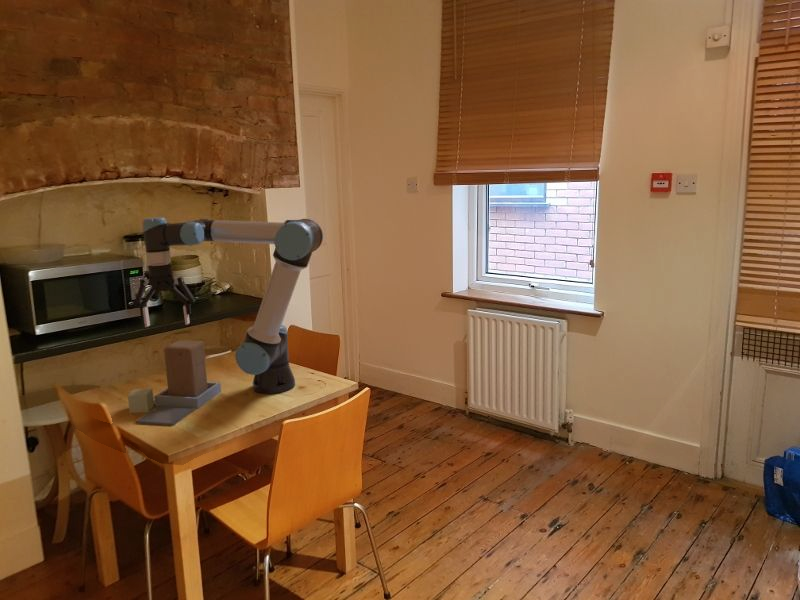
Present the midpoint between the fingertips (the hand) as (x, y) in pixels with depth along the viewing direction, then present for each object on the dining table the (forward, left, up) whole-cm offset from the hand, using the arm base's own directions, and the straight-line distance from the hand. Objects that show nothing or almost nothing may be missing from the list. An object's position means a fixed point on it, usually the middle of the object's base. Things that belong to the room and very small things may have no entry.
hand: (167, 325), depth 212 cm
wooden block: (-6, +1, -27) cm, 27 cm away
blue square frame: (-6, +1, -26) cm, 27 cm away
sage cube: (+5, +12, -26) cm, 29 cm away
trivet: (-7, +17, -26) cm, 32 cm away
